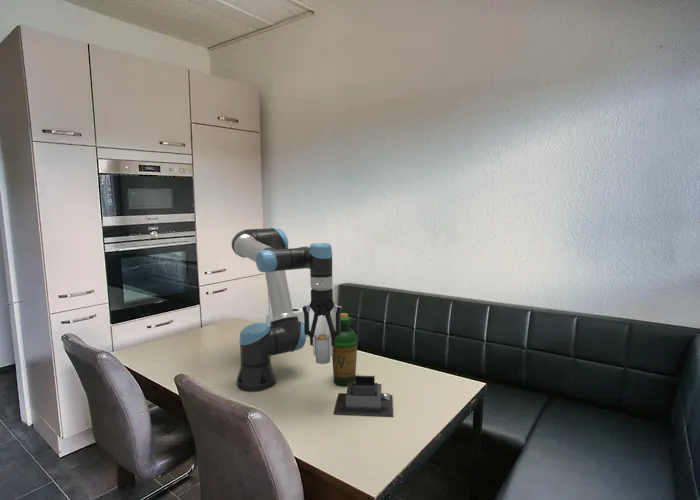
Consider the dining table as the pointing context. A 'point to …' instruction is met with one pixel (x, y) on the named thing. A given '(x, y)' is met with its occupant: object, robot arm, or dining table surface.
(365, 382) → the stepped square mount
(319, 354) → the grey cylinder with ball
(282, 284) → the robot arm
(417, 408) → the dining table surface
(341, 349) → the bottle
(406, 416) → the dining table surface
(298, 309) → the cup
